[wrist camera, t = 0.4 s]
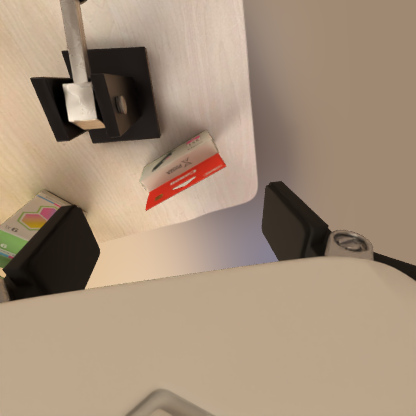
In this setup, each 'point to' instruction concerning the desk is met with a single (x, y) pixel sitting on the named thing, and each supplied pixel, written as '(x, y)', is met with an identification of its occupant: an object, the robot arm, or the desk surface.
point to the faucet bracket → (106, 97)
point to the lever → (79, 71)
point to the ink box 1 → (27, 224)
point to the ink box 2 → (181, 168)
